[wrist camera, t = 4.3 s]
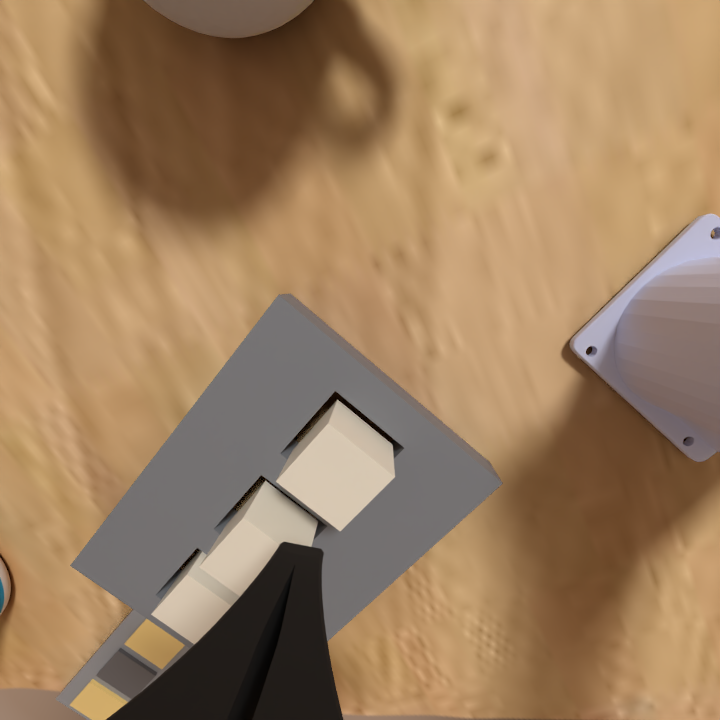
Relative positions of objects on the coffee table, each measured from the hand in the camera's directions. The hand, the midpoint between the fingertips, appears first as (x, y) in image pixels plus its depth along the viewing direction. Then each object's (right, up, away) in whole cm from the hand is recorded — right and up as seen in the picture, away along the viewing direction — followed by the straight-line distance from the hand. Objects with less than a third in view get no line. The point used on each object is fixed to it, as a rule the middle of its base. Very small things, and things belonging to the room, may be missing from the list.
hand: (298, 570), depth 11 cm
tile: (-14, -14, +13) cm, 23 cm away
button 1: (-7, -6, +10) cm, 13 cm away
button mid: (-3, -2, +7) cm, 8 cm away
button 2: (+1, +2, +6) cm, 7 cm away
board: (-3, -2, +9) cm, 10 cm away
